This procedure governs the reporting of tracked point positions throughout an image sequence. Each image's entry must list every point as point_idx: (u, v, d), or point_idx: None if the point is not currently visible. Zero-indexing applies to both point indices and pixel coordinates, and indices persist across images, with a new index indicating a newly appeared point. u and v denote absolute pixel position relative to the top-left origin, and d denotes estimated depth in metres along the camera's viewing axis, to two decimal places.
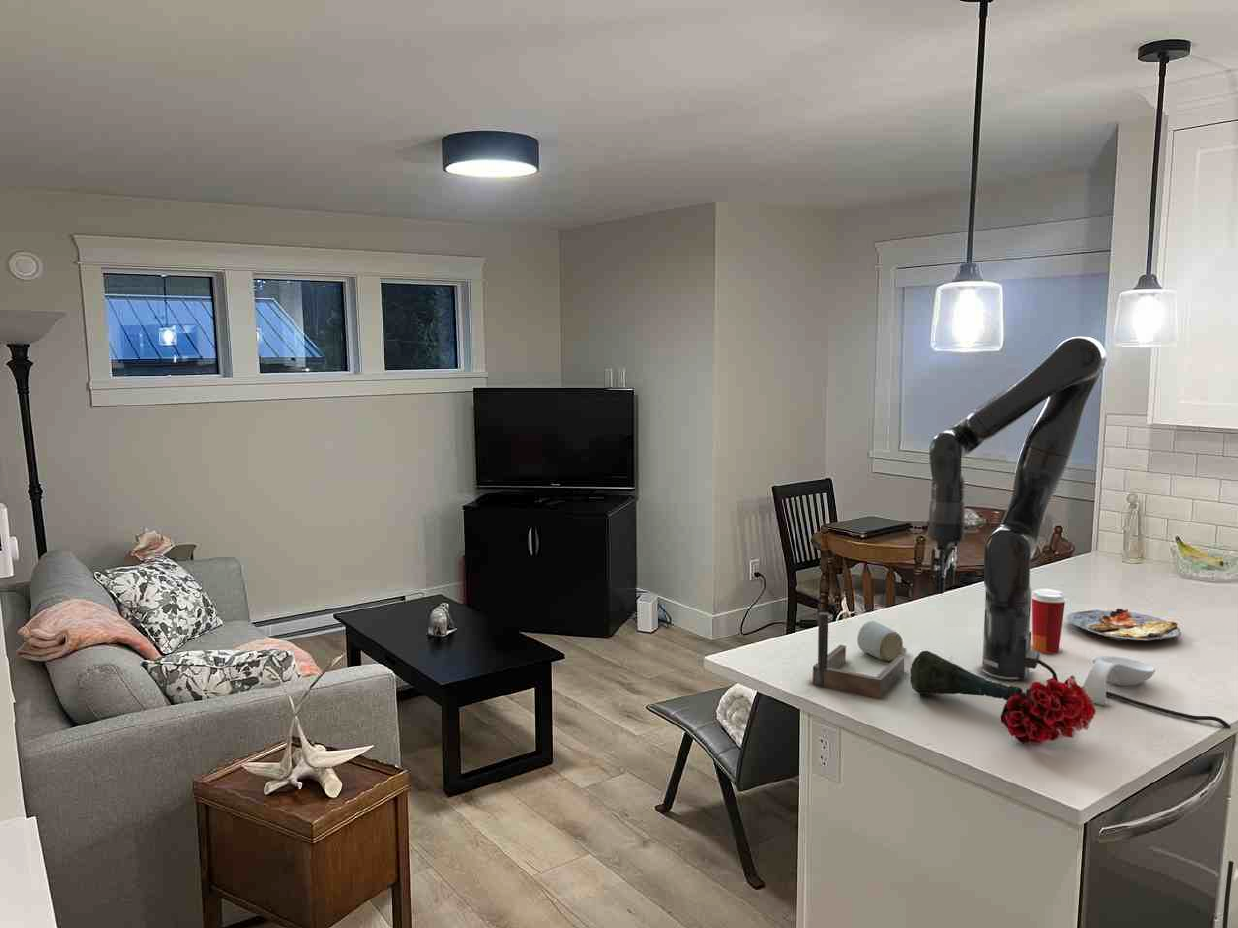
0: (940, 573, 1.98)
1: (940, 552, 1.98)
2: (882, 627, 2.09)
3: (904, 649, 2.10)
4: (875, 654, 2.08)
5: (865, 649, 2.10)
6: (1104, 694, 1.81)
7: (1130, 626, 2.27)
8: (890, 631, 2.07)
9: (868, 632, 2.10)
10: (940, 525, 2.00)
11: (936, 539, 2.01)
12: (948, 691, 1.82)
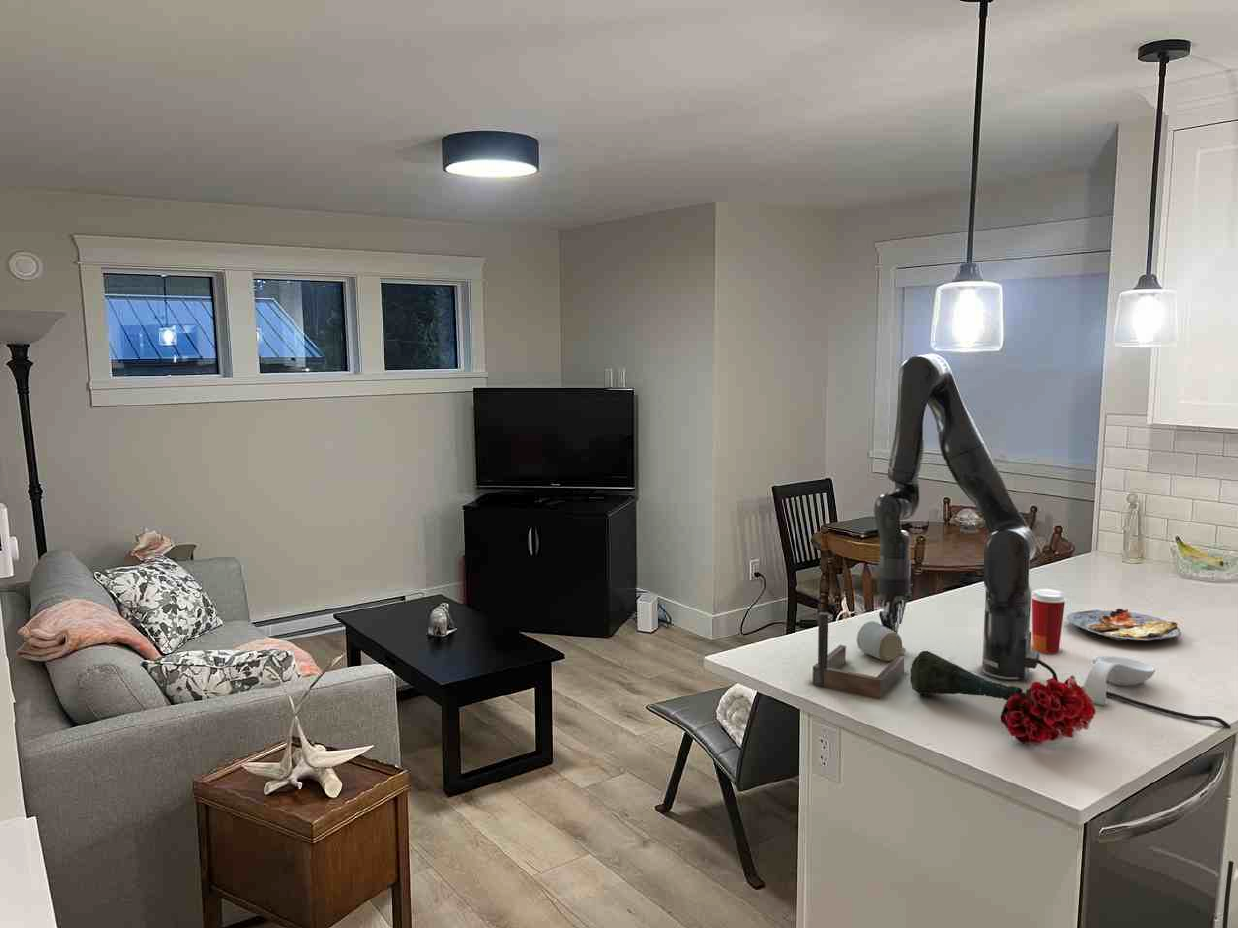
0: None
1: (887, 616, 2.10)
2: (881, 627, 2.09)
3: (903, 649, 2.10)
4: (874, 654, 2.08)
5: (864, 649, 2.10)
6: (1104, 694, 1.81)
7: (1130, 626, 2.27)
8: (889, 631, 2.07)
9: (867, 632, 2.09)
10: (887, 580, 2.11)
11: (883, 593, 2.12)
12: (948, 691, 1.82)
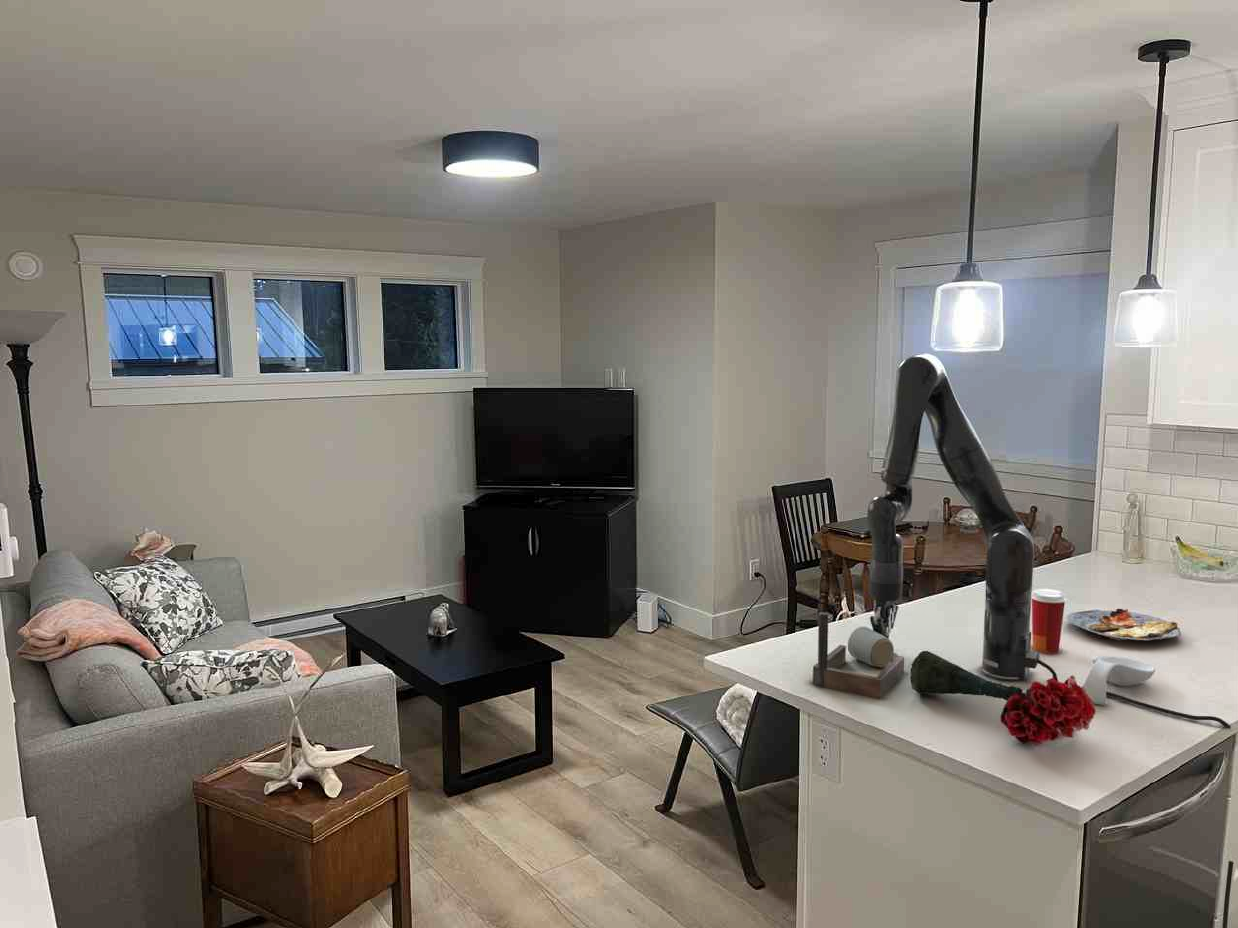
0: None
1: (878, 621, 2.06)
2: (873, 633, 2.05)
3: (895, 655, 2.06)
4: (865, 660, 2.04)
5: (855, 655, 2.07)
6: (1104, 694, 1.81)
7: (1130, 626, 2.27)
8: (881, 637, 2.03)
9: (858, 638, 2.06)
10: (878, 585, 2.07)
11: (875, 598, 2.09)
12: (948, 691, 1.82)
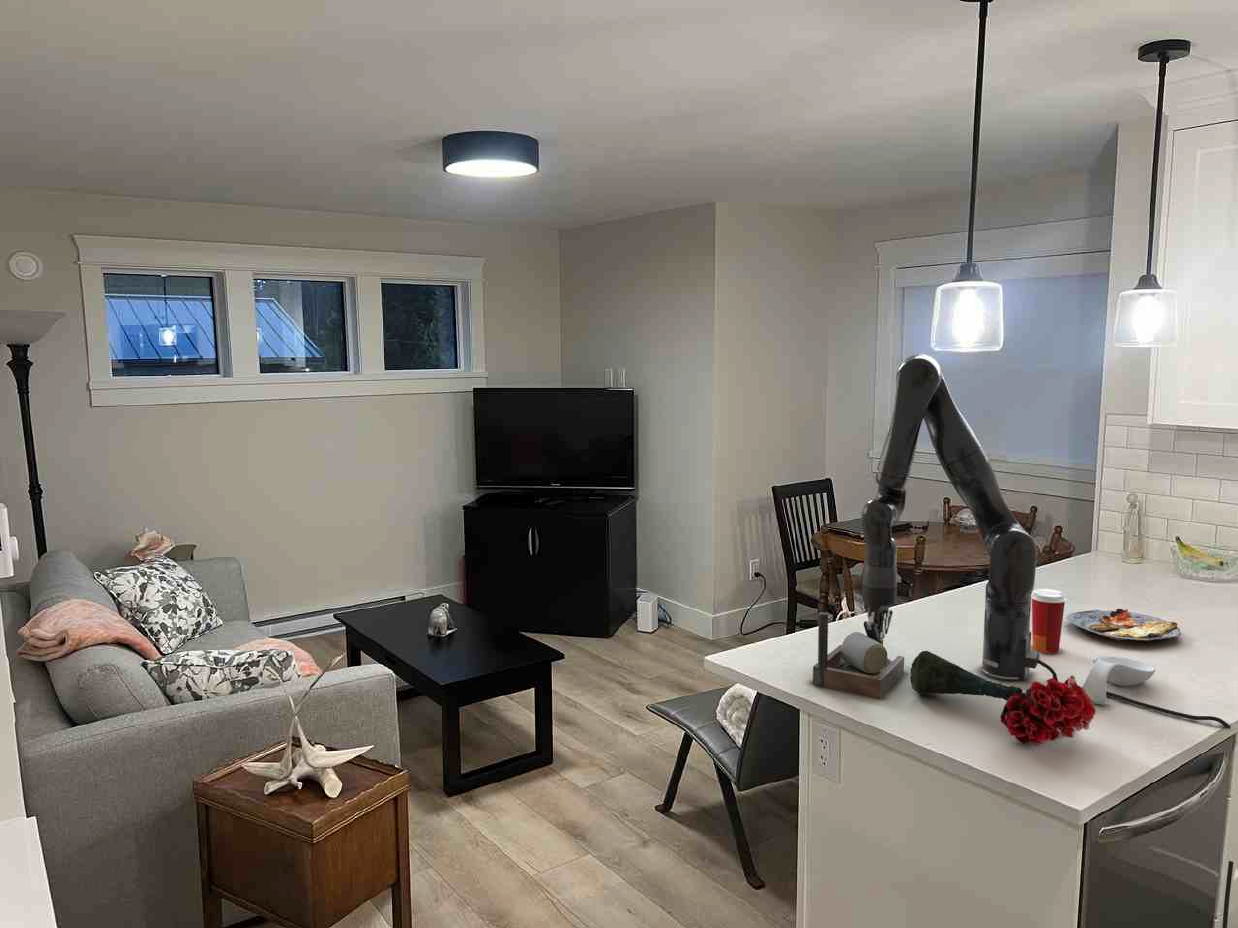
0: None
1: (871, 627, 2.02)
2: (866, 638, 2.01)
3: (889, 661, 2.02)
4: (858, 667, 2.00)
5: (848, 661, 2.03)
6: (1104, 694, 1.81)
7: (1130, 626, 2.27)
8: (874, 643, 1.99)
9: (852, 644, 2.02)
10: (872, 589, 2.04)
11: (868, 602, 2.05)
12: (948, 691, 1.82)
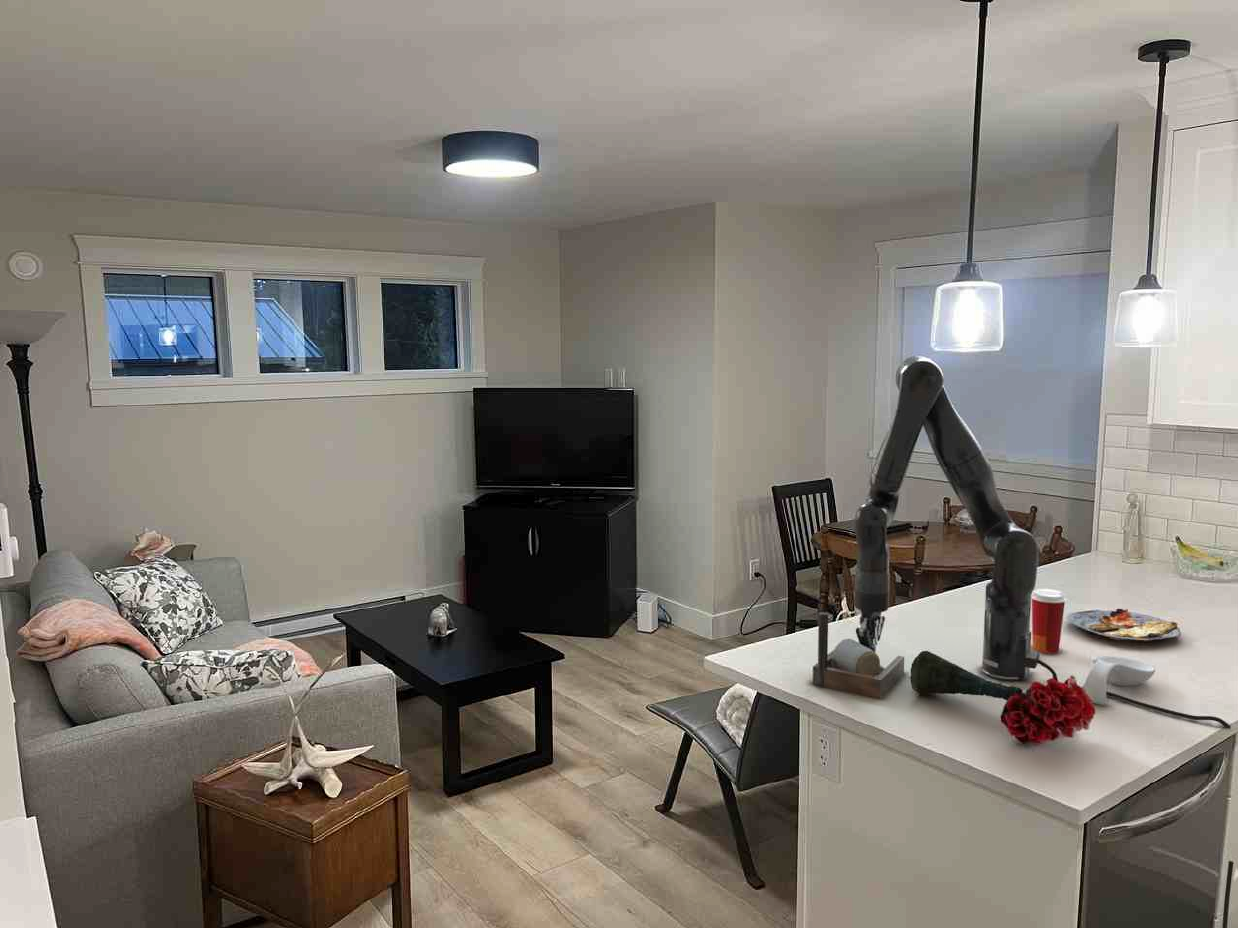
0: None
1: (864, 633, 1.98)
2: (858, 645, 1.97)
3: (882, 669, 1.98)
4: None
5: (840, 669, 1.98)
6: (1104, 694, 1.81)
7: (1130, 626, 2.27)
8: (866, 650, 1.95)
9: (843, 651, 1.97)
10: (864, 595, 1.99)
11: (860, 609, 2.00)
12: (948, 691, 1.82)
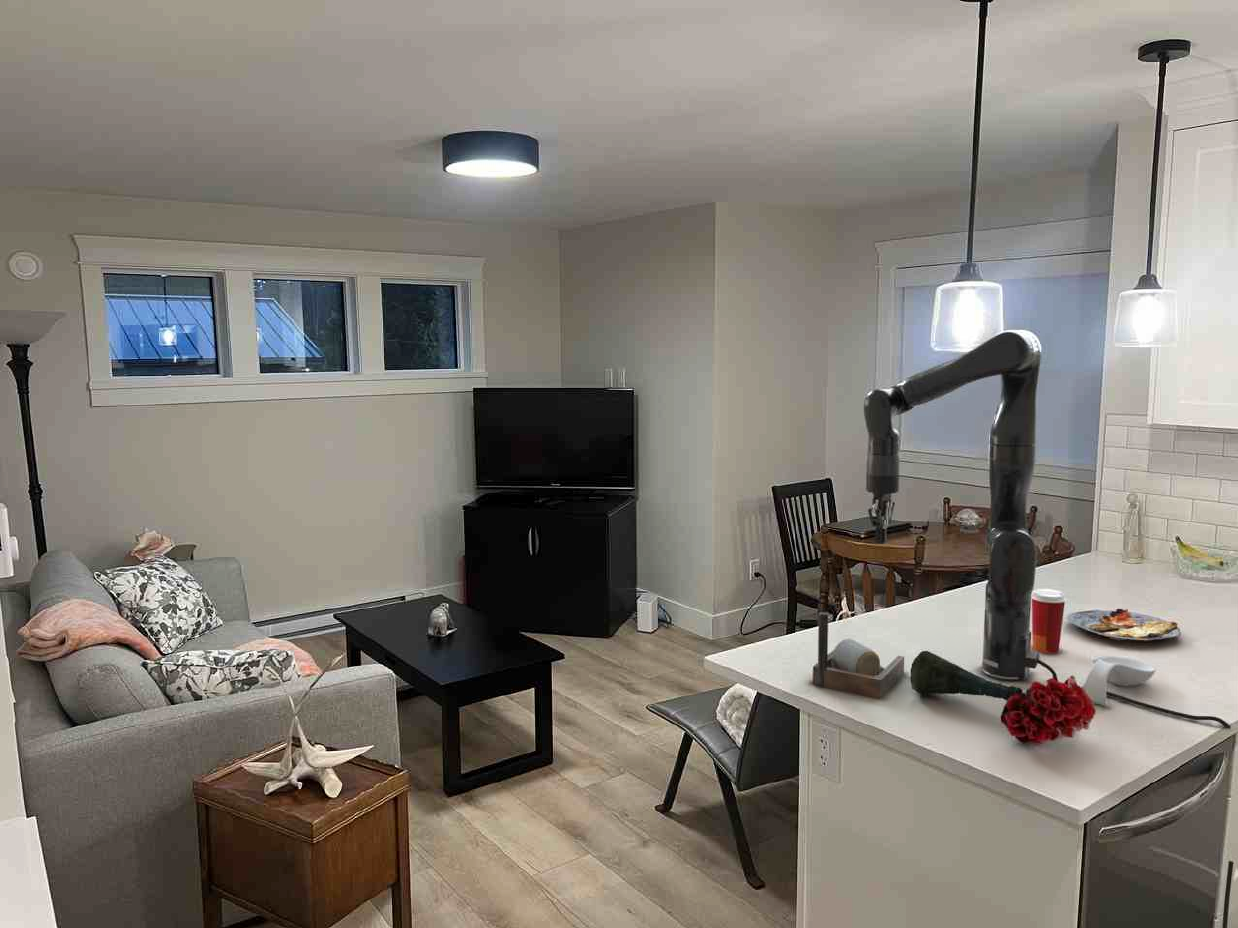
0: None
1: (876, 513, 2.10)
2: (858, 645, 1.97)
3: (882, 669, 1.98)
4: None
5: (840, 669, 1.98)
6: (1104, 694, 1.81)
7: (1130, 626, 2.27)
8: (866, 650, 1.95)
9: (843, 651, 1.97)
10: (876, 477, 2.12)
11: (872, 491, 2.13)
12: (948, 691, 1.82)
